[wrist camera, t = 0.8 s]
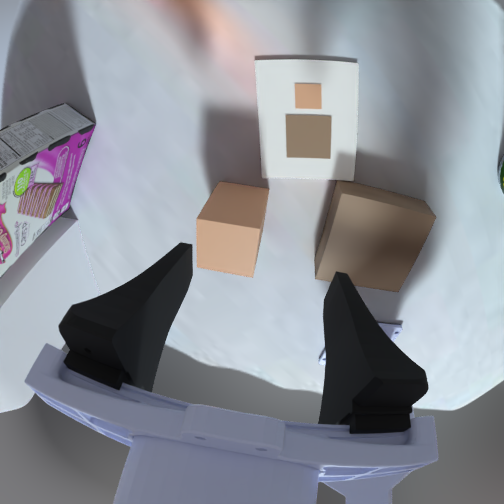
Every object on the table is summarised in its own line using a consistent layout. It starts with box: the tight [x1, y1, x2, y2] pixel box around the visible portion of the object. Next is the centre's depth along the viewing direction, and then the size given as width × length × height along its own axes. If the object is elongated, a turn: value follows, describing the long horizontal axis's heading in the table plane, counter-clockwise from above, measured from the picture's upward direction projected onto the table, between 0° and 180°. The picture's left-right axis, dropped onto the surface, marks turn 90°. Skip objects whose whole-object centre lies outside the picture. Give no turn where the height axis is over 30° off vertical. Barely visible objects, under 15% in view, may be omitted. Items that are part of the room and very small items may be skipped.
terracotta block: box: [197, 181, 269, 278], centre depth 21 cm, size 4×4×6 cm
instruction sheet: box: [255, 59, 359, 181], centre depth 18 cm, size 9×7×1 cm
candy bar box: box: [0, 103, 96, 279], centre depth 16 cm, size 11×5×16 cm, turn 143°
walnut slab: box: [314, 180, 436, 292], centre depth 22 cm, size 8×8×3 cm
